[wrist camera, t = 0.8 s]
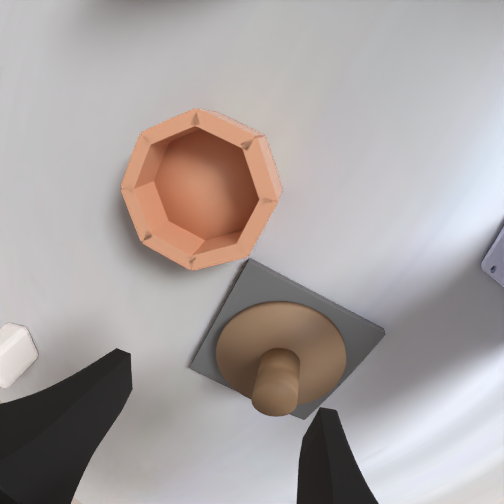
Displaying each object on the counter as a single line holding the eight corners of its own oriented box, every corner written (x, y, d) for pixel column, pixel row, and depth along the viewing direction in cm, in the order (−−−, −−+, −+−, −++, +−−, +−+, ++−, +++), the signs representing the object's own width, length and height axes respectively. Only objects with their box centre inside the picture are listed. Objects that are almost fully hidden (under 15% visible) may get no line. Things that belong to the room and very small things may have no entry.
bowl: (302, 154, 17) (301, 159, 14) (241, 266, 20) (229, 291, 17) (181, 96, 17) (157, 91, 14) (135, 209, 20) (109, 224, 17)
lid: (370, 337, 20) (381, 383, 15) (301, 412, 23) (298, 456, 19) (253, 276, 19) (238, 315, 15) (201, 367, 23) (182, 409, 19)
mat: (384, 329, 20) (385, 334, 19) (304, 414, 24) (304, 419, 23) (249, 257, 20) (248, 261, 19) (191, 362, 23) (189, 367, 23)
